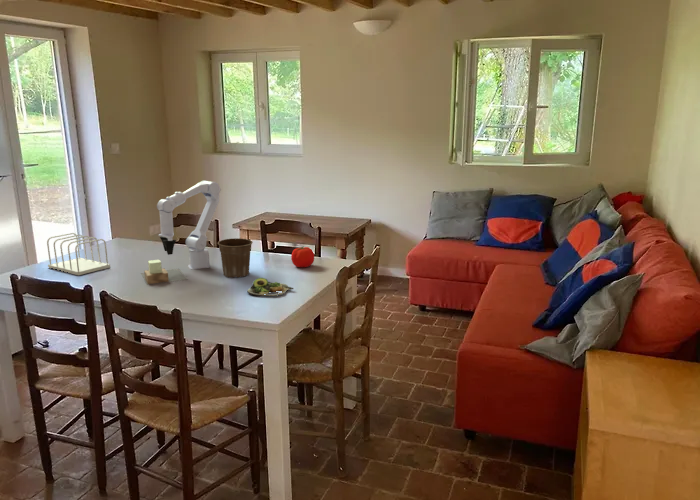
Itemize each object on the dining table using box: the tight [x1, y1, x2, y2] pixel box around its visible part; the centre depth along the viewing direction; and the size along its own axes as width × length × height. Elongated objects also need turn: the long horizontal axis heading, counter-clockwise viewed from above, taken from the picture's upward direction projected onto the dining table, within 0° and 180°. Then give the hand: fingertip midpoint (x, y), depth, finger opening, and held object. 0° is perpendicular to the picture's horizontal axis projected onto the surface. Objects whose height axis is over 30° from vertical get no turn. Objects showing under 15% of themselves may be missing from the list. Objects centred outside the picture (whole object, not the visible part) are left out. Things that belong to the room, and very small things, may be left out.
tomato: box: [290, 245, 315, 268], centre depth 280 cm, size 12×12×10 cm
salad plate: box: [246, 277, 295, 297], centre depth 243 cm, size 19×18×5 cm
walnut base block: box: [143, 267, 170, 285], centre depth 255 cm, size 9×9×4 cm
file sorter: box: [46, 232, 111, 276], centre depth 274 cm, size 25×17×16 cm
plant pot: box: [217, 237, 253, 279], centre depth 265 cm, size 16×16×16 cm
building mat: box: [140, 268, 188, 285], centre depth 262 cm, size 18×20×1 cm
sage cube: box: [147, 259, 163, 274], centre depth 254 cm, size 5×5×5 cm
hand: (168, 252), depth 265 cm, fingers open, 7 cm apart
